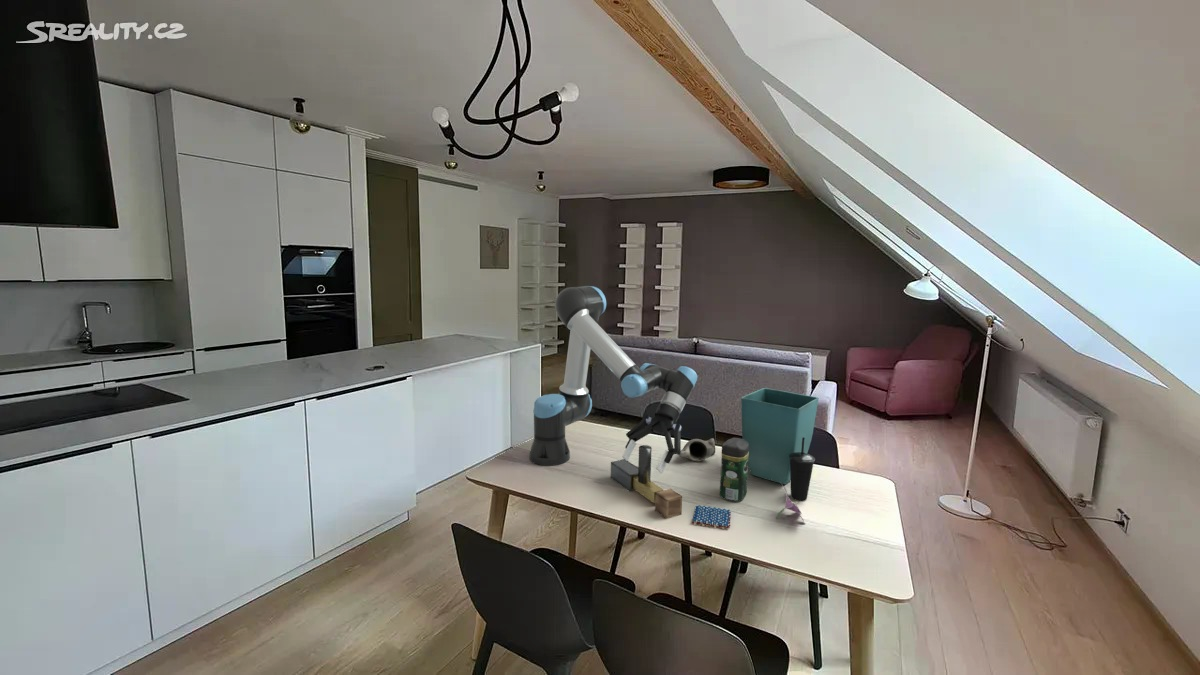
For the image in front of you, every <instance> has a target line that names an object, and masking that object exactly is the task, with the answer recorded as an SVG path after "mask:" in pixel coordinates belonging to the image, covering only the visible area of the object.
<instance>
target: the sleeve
mask: <svg viewBox="0 0 1200 675" xmlns="http://www.w3.org/2000/svg"><path fill="white" fill-rule="evenodd" d="M635 475H638V466H636V465H635V464H633V463H632V462H630V461H629V460H628V461H626V460H625V459H624V458H623V459H617V460H613V461H610V479H612V480H613V481H614V482H616V484H619V486H621V487H622V488H624V489H625V490H627V491H628V492H630V493H631V492H634V491H636V490H635V489H633V488H632V487H631V482H632V476H635Z"/></svg>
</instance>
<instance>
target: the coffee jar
mask: <svg viewBox="0 0 1200 675" xmlns="http://www.w3.org/2000/svg"><path fill="white" fill-rule="evenodd" d="M748 456H749V444H748V442H747V441H746V440H744V439H743V438H740V437H732V438H730V439H727V440H726V441H724V442H723V444H722V445H721V465H720V466H721V467H720V468H721V469H720V479H719V482H720V483H719V496H720V497H721V498H722V499H724V500H726V501H729V502H741V501H742V500H744V499H745V497H747V494H748V473H749V472H748V470H749V467H748Z"/></svg>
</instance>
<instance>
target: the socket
mask: <svg viewBox="0 0 1200 675" xmlns="http://www.w3.org/2000/svg"><path fill="white" fill-rule="evenodd" d="M682 509H683V495H681V494H680V493H678V491H675V490H674V489H672V488H667V489H664V490H663V491H660V492H656V500H655V503H654V511H655V512H657V513H658V514H660V515H661V516H662V518H664V519H666V520H667V519H671V518H674V517H677V516H680V515H681V516H682V511H683V510H682Z"/></svg>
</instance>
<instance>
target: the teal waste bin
mask: <svg viewBox="0 0 1200 675" xmlns="http://www.w3.org/2000/svg"><path fill="white" fill-rule="evenodd" d="M740 402H741V404H740V406H741V436H742V438H741V439H744V440H746V441H747V442H748V444H749V456H748V470H749V472H750V474H751V475H752V476H755V477H758V478H761V479H763V480H764V479H765V480H768V481H770V482H775V483H778V484H781V485H787V484H788V483H789V482H790V458H789V455H790V454H791V453H795V452H801V449H802V438H803V437H804V438H805V441H804V453H807V454H808V452H809V449H810V446H811V443H812V439H813V434H814V428H815V422H816V416H817V412H818V411H817V409H818V403H819V397H817V396H812V395H806V394H802V393H801V394H800V393H797V392H795V393H794V392H792V391H791V392H789V391H784V390H780V389H773V388H767V387H763V388H760V389H758V390H756V391H755V390H754V391H753V392H751V393H748V394H746V395H743V396H742V397H741V399H740ZM780 482H781V483H780Z"/></svg>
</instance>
